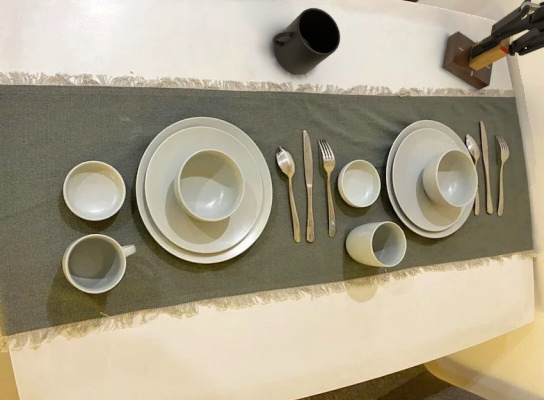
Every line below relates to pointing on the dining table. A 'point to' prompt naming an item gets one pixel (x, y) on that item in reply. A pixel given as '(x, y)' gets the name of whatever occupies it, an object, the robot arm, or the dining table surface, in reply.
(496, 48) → the lock knob
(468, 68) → the plate
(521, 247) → the dining table surface
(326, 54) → the mug
